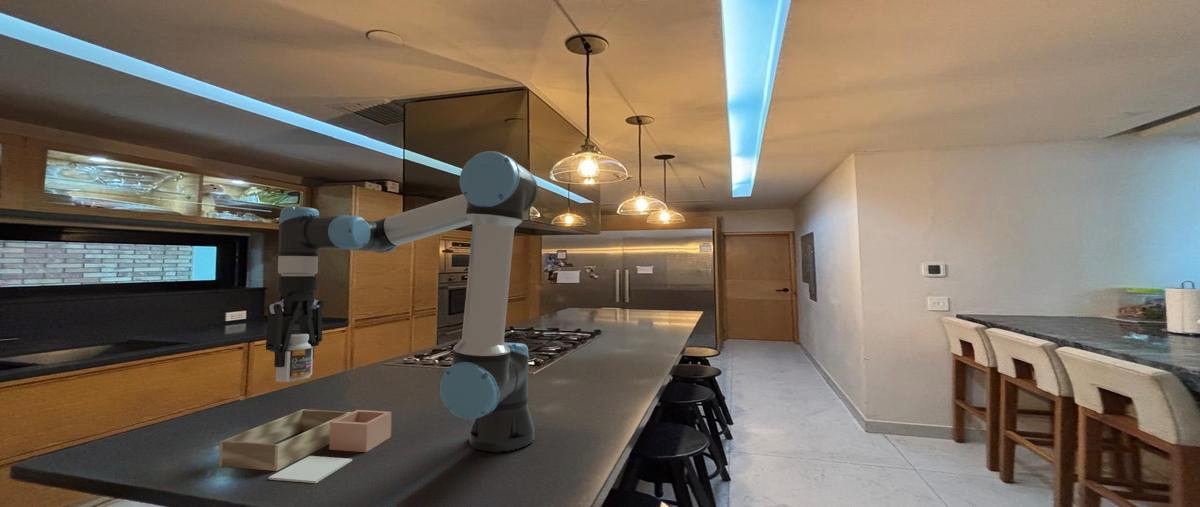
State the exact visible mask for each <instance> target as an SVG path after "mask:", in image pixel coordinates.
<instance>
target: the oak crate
mask: <svg viewBox="0 0 1200 507" xmlns="http://www.w3.org/2000/svg"><path fill="white" fill-rule="evenodd" d="M349 413H352V411H338V410H323V409H305V408H303V409H301V410H297V411H295V412H292V413H290V414H288V415H285V416H282V417H280V418H277V419H275V420H272V421H270V422H267V423H264V424H261V425H259V426H256V427H253V428H252V429H248V430H246V431H244V432H239V433H238V434H236V435H233V436H231V437H227V438H225V439H223V440H220V441H219V460H218V461H219V462H218V464H219V465H218V467H223V468H224V467H225V468H235V469H249V470H259V471H273V472H279V470H280V471H281V470H283V468H284V469H285V468H287V467H289V466H290V465H292V464H294V463H296V462H298V461H300V460H302V459H304V458H306V457H308V456H310V454H312V453H314V452H316V451H318V450H320V449H322V448H323V447H326V446H327V445H329V441H330V422H332V421H334V420H336V419H339V418H341V417H343V416H345V415H347V414H349ZM300 432H302V433H300ZM298 433H299V434H298ZM296 434H297V435H296ZM293 435H295V436H293ZM291 436H293V437H291ZM289 437H291V438H289ZM287 438H288V439H287ZM285 439H286V440H285ZM282 440H284V441H282ZM280 441H282V442H280ZM278 442H279V443H278Z"/></svg>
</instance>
